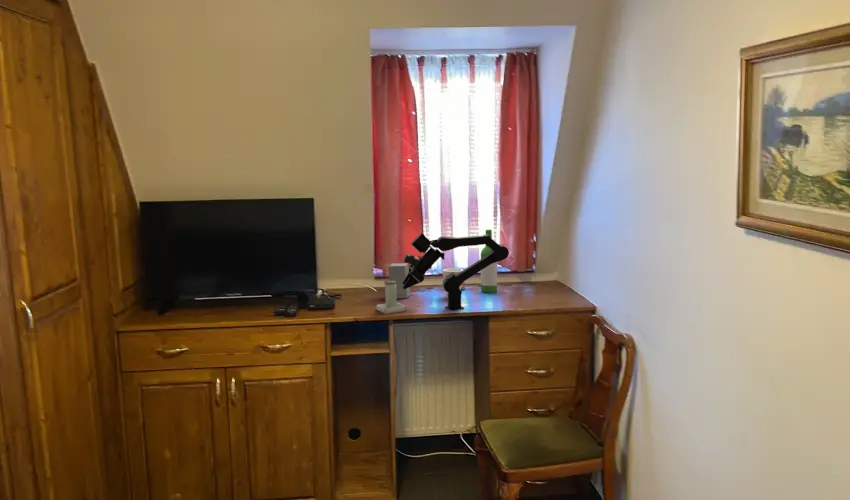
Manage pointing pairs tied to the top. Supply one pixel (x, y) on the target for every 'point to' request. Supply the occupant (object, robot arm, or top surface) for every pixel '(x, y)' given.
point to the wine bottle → (488, 271)
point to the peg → (390, 294)
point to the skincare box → (399, 278)
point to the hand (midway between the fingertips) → (403, 286)
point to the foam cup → (449, 271)
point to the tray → (385, 310)
